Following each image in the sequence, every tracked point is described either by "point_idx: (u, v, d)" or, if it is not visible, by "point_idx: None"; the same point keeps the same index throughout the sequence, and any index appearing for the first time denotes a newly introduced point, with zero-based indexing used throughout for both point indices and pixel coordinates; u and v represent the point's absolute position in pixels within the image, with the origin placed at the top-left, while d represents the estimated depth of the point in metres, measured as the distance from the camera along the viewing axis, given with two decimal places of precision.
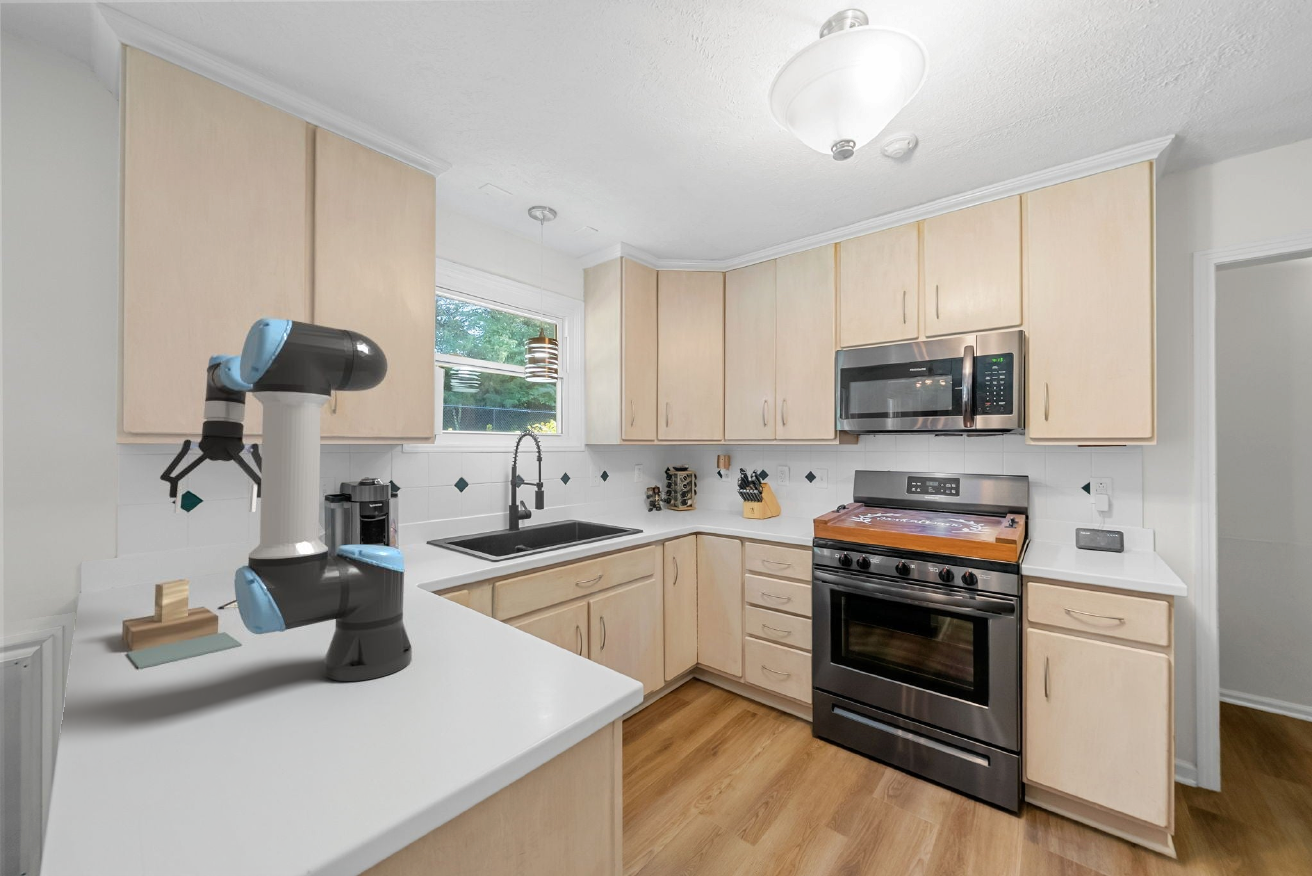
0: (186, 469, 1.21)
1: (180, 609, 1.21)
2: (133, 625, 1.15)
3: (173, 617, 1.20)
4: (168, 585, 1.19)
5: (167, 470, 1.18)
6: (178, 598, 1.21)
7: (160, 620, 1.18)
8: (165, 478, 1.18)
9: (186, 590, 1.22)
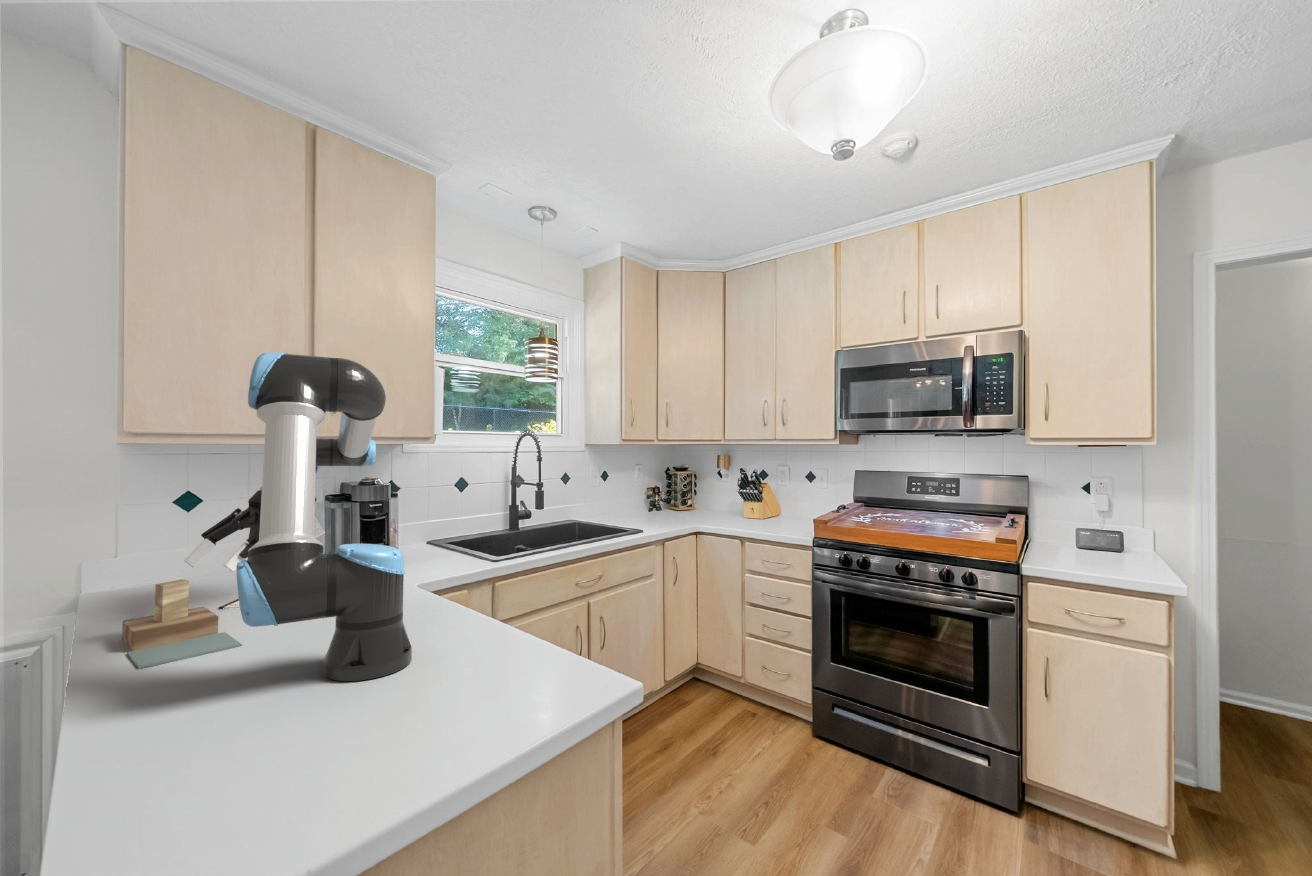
0: (218, 528, 1.36)
1: (180, 609, 1.21)
2: (133, 625, 1.15)
3: (173, 617, 1.20)
4: (168, 585, 1.19)
5: (209, 529, 1.37)
6: (178, 598, 1.21)
7: (160, 620, 1.18)
8: (203, 534, 1.35)
9: (186, 590, 1.22)
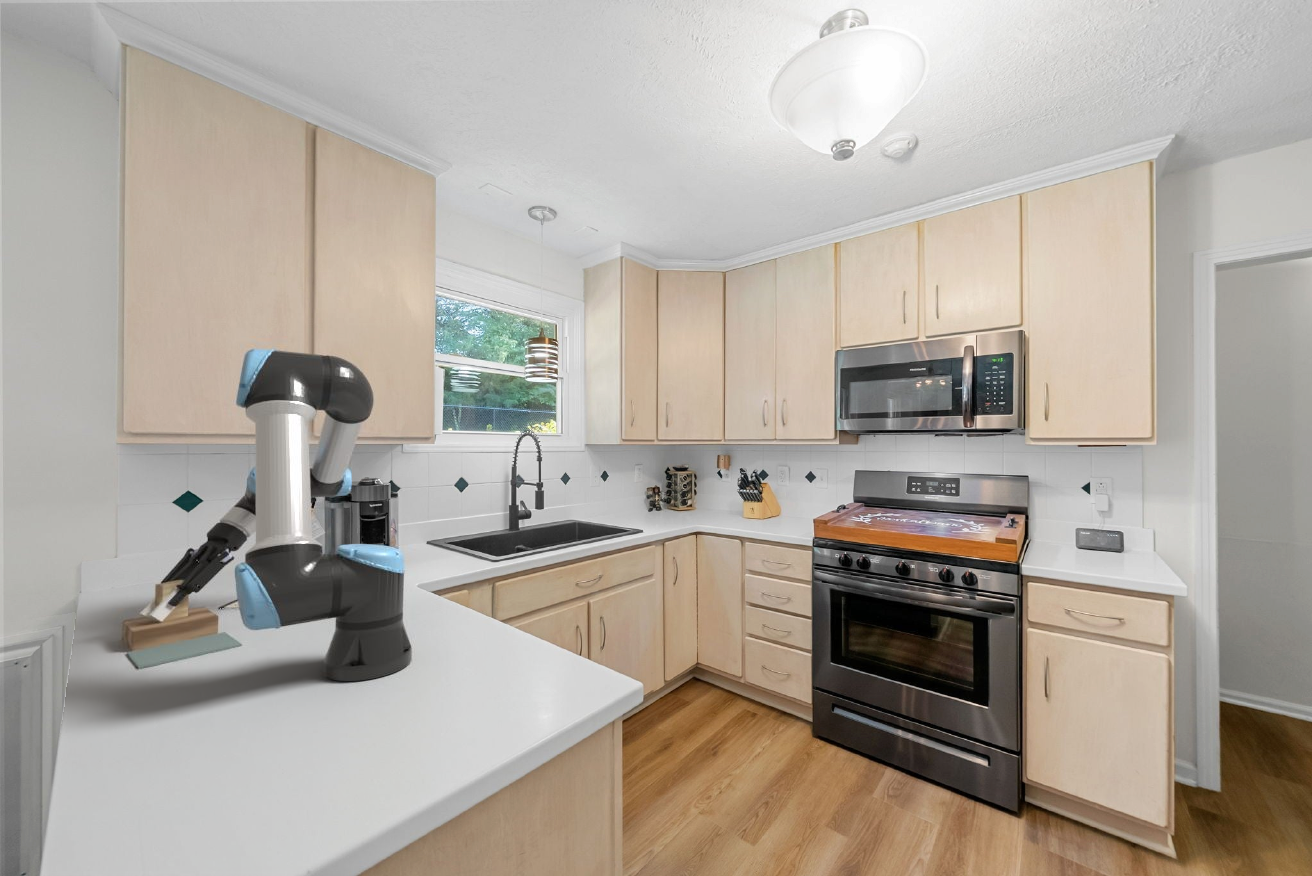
0: (177, 573, 1.24)
1: (180, 609, 1.21)
2: (133, 625, 1.15)
3: (173, 617, 1.20)
4: (168, 585, 1.19)
5: (167, 575, 1.24)
6: None
7: None
8: (163, 581, 1.22)
9: None
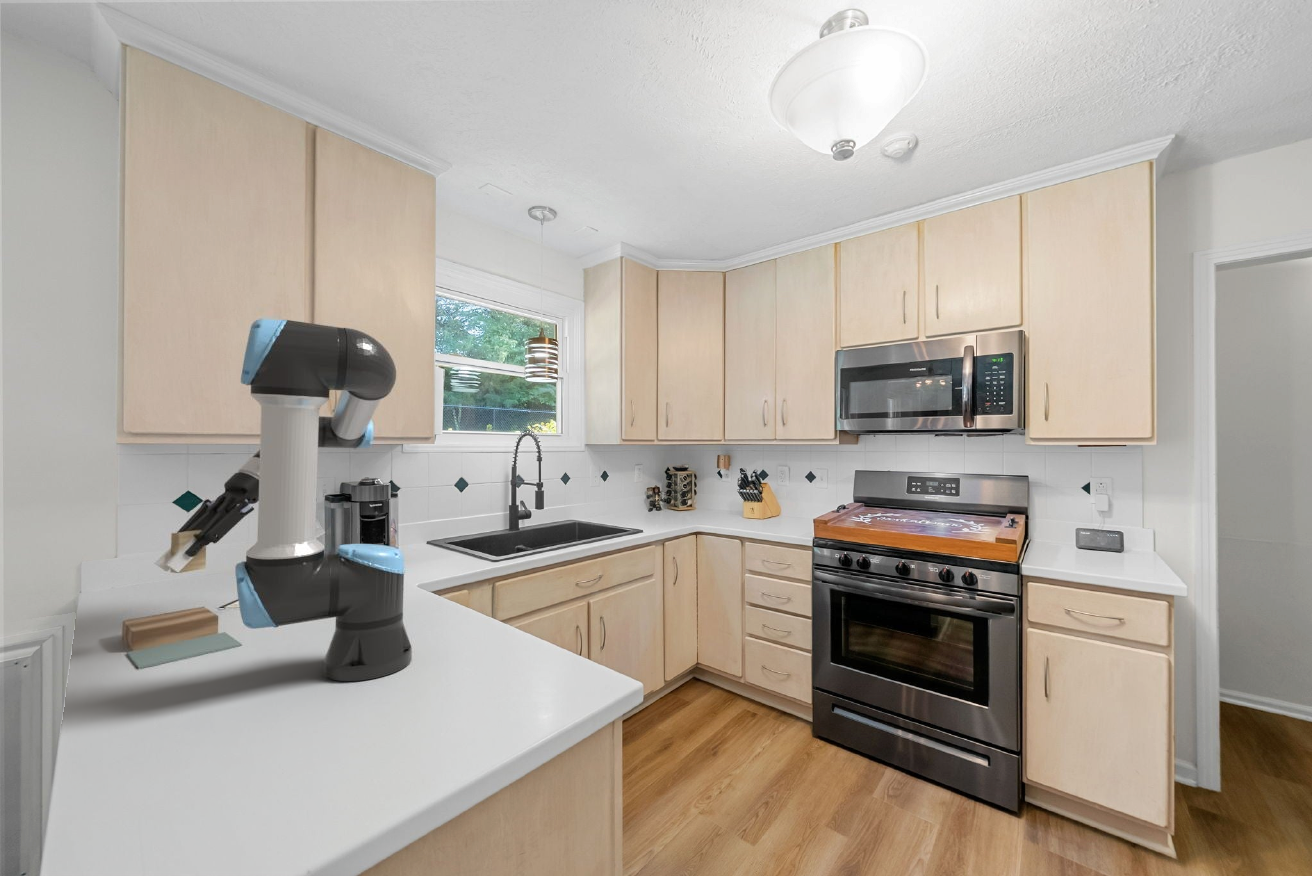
0: (194, 523, 1.16)
1: (197, 561, 1.13)
2: (133, 625, 1.15)
3: (190, 569, 1.12)
4: (185, 534, 1.11)
5: (183, 526, 1.16)
6: None
7: None
8: None
9: None
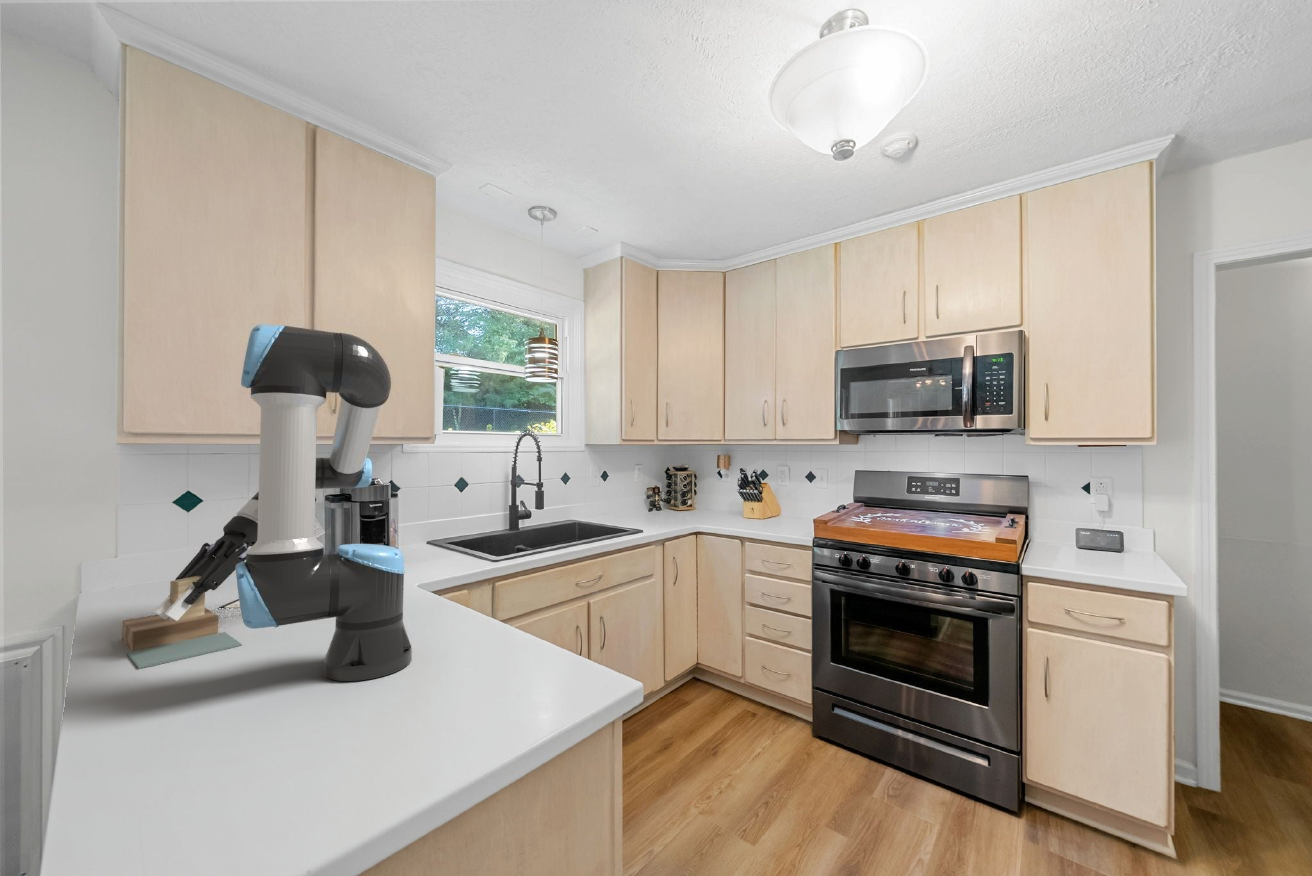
0: (193, 569, 1.16)
1: (196, 607, 1.14)
2: (133, 625, 1.15)
3: (189, 616, 1.12)
4: (184, 582, 1.12)
5: (182, 571, 1.17)
6: None
7: None
8: (178, 578, 1.15)
9: None
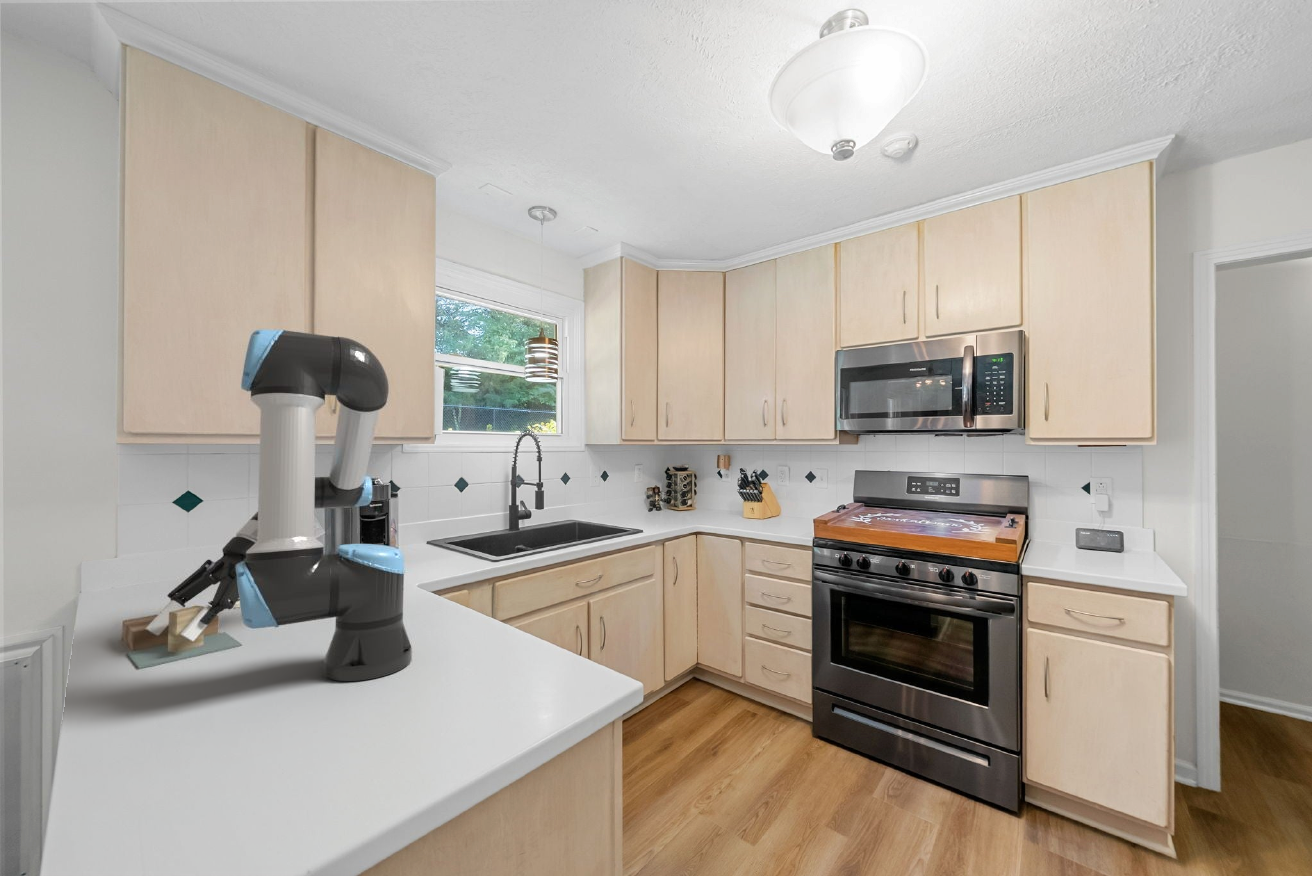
0: (187, 586, 1.17)
1: None
2: (133, 625, 1.15)
3: (188, 647, 1.12)
4: (183, 613, 1.11)
5: (176, 587, 1.18)
6: None
7: (174, 650, 1.10)
8: (170, 595, 1.16)
9: None
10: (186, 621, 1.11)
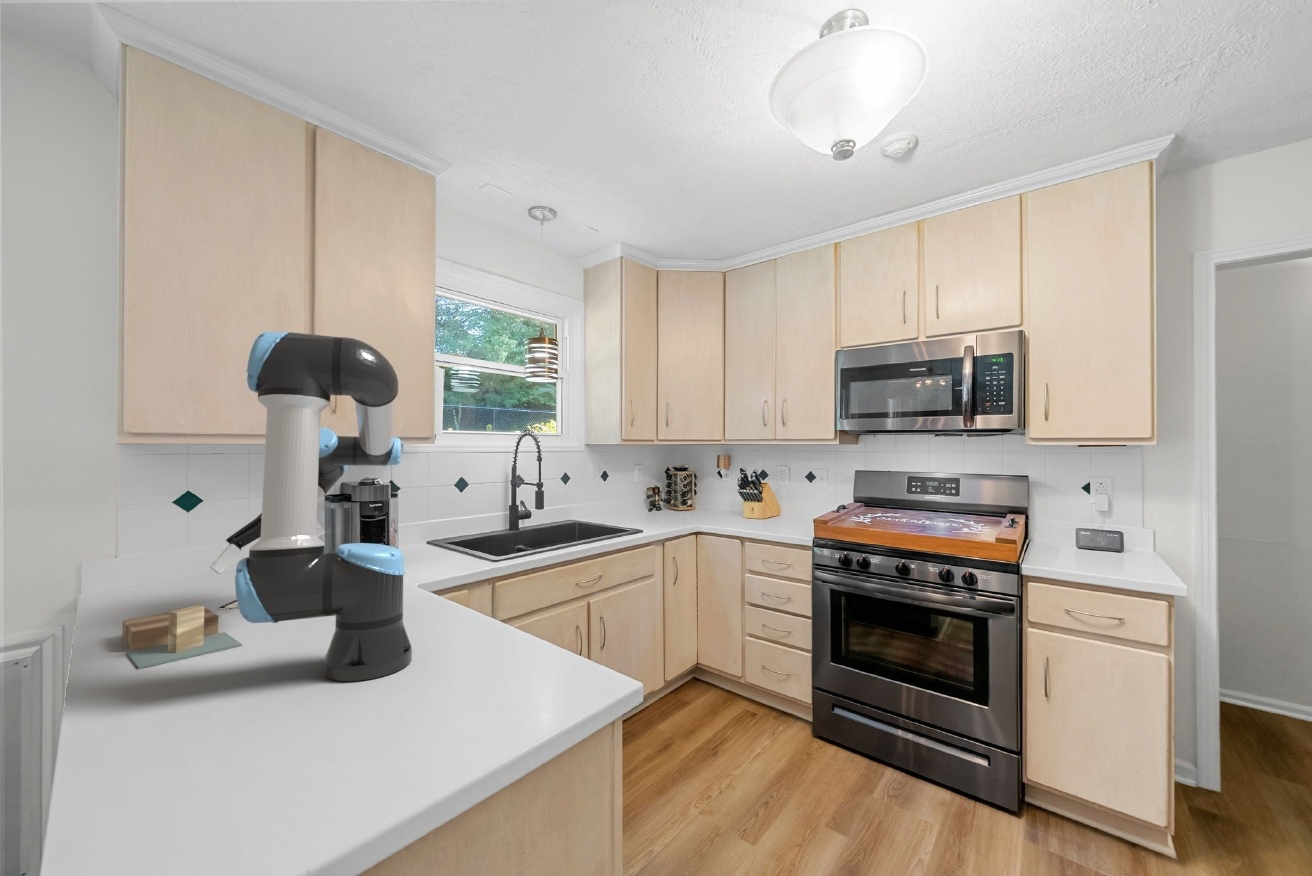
0: (244, 533, 1.30)
1: (195, 638, 1.13)
2: (133, 625, 1.15)
3: (188, 647, 1.12)
4: (183, 613, 1.11)
5: (234, 533, 1.30)
6: (193, 626, 1.13)
7: (174, 650, 1.10)
8: (228, 539, 1.29)
9: (201, 617, 1.14)
10: (186, 621, 1.11)
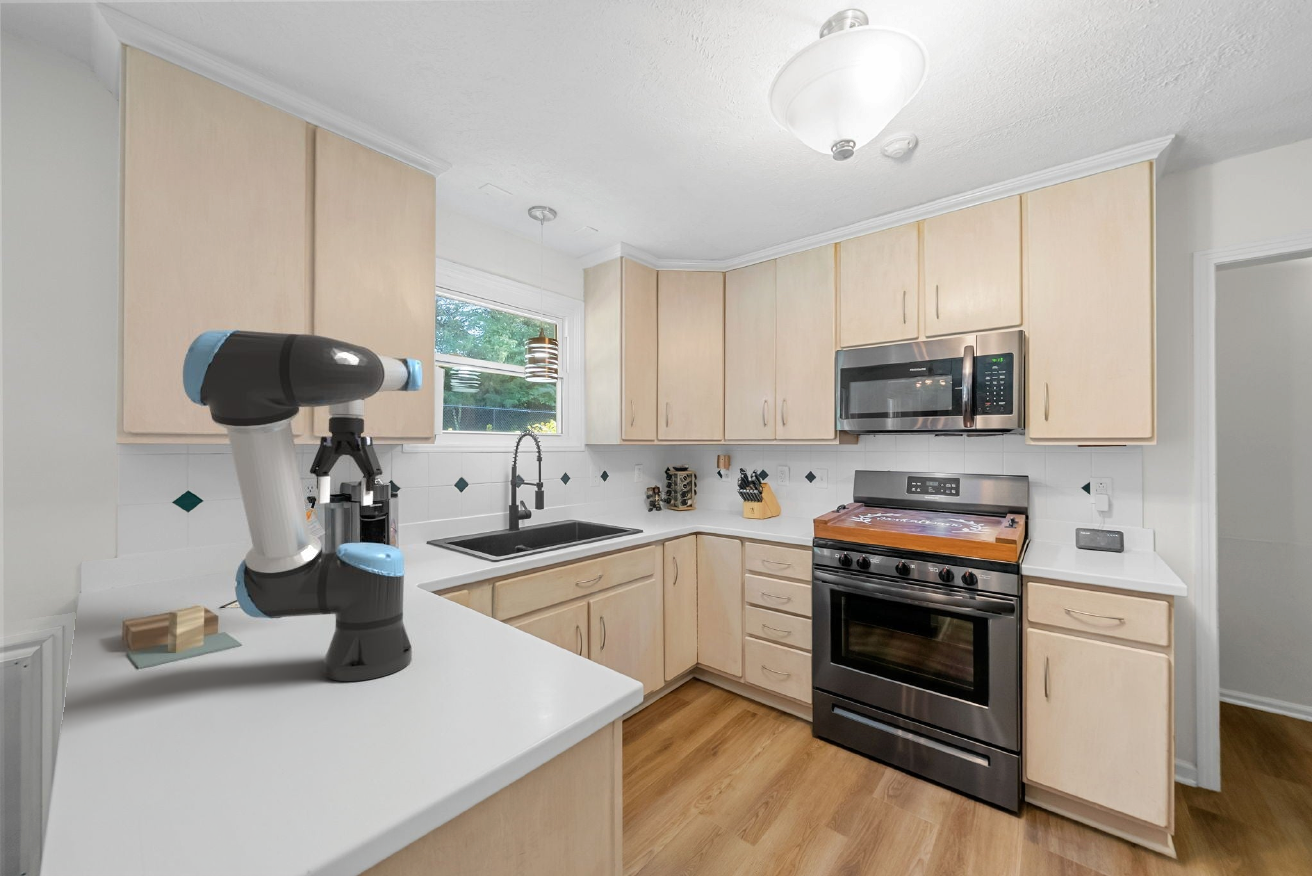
0: (322, 464, 1.32)
1: (195, 638, 1.13)
2: (133, 625, 1.15)
3: (188, 647, 1.12)
4: (183, 613, 1.11)
5: (312, 465, 1.33)
6: (193, 626, 1.13)
7: (174, 650, 1.10)
8: (312, 472, 1.33)
9: (201, 617, 1.14)
10: (186, 621, 1.11)
